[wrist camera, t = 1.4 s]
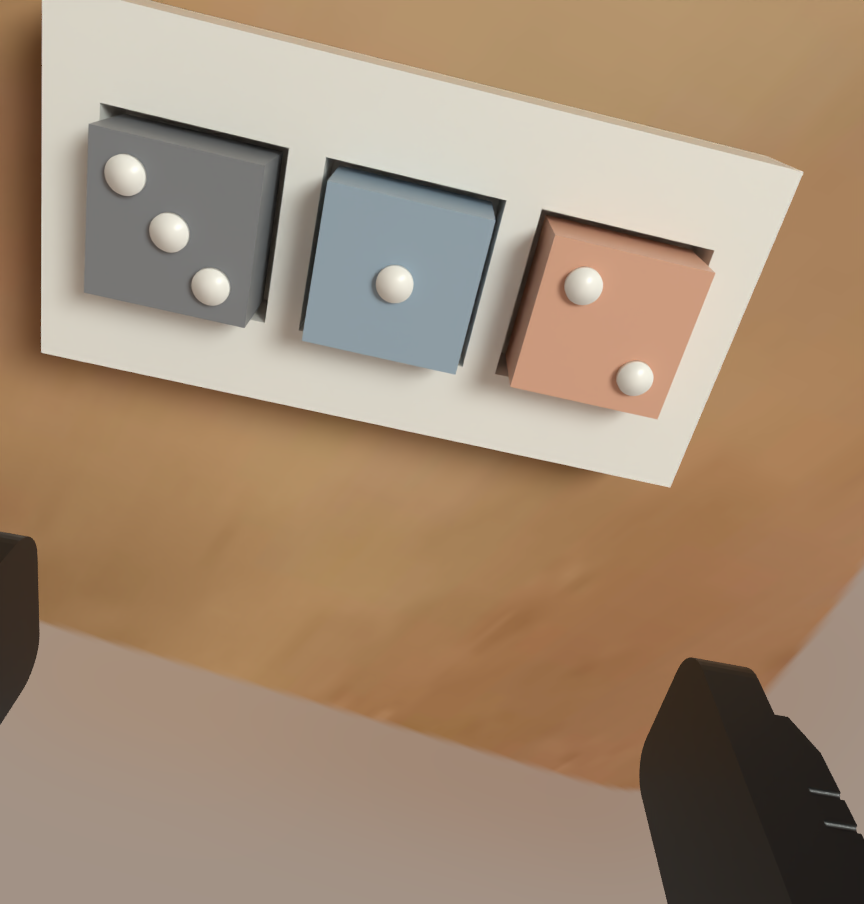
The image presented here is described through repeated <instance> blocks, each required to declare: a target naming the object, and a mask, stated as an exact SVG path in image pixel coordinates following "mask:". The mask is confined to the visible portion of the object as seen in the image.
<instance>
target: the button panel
mask: <svg viewBox="0 0 864 904" xmlns="http://www.w3.org/2000/svg"><path fill="white" fill-rule="evenodd" d="M121 114H128V115H132V116H136V117H141V118H145V119H149V120H153V121H157V122H161V123H166V124H170V125H174V126H178V127H182V128H186V129H191V130H195V131H199V132H203V133H207V134H211V135H216V136H220V137H224V138H228V139H232V140H236V141H241V142H245V143H249V144H253V145H257V146H261V147H266V148H270V149H274V150H278V151H282V152H283V157H282V165H281V172H280V179H279V187H278V194H277V202H276V209H275V217H274V224H273V231H272V239H271V246H270V254H269V261H268V269H267V276H266V284H265V291H264V298H263V302H262V303H261V305H260V306H259V308H258V309H257V311H256V312H255V314H254V315H253V316H252V318H251V319H250V321H249V322H248V324H247V325H246V327H245V328H242V327H237V326H233V325H228V324H224V323H219V322H215V321H210V320H205V319H201V318H196V317H192V316H187V315H183V314H178V313H174V312H169V311H165V310H160V309H156V308H151V307H147V306H142V305H138V304H133V303H129V302H124V301H120V300H115V299H110V298H106V297H101V296H97V295H92V294H88V293H84V269H85V233H86V197H87V161H88V126H89V123H93V122H96V121H100V120H104V119H107V118H111V117H114V116H118V115H121ZM339 165H341V166H345V167H349V168H353V169H357V170H361V171H366V172H370V173H374V174H378V175H382V176H386V177H391V178H395V179H399V180H403V181H407V182H411V183H416V184H420V185H424V186H428V187H432V188H436V189H441V190H445V191H449V192H453V193H457V194H461V195H466V196H470V197H474V198H478V199H482V200H486V201H491V202H492V206H493V211H494V216H495V220H496V221H495V225H494V229H493V232H492V236H491V240H490V244H489V248H488V252H487V255H486V259H485V263H484V267H483V271H482V275H481V279H480V282H479V286H478V290H477V294H476V298H475V302H474V305H473V309H472V313H471V317H470V321H469V325H468V329H467V332H466V336H465V340H464V344H463V348H462V352H461V355H460V359H459V363H458V367H457V371H456V375H454V374H450V373H445V372H441V371H436V370H432V369H427V368H423V367H418V366H414V365H409V364H405V363H400V362H395V361H391V360H386V359H382V358H377V357H373V356H368V355H364V354H359V353H355V352H350V351H346V350H341V349H337V348H332V347H328V346H323V345H319V344H314V343H310V342H305V341H302V336H303V330H304V323H305V317H306V311H307V305H308V299H309V292H310V286H311V280H312V274H313V268H314V261H315V255H316V249H317V243H318V236H319V230H320V224H321V218H322V212H323V205H324V199H325V193H326V187H327V181H328V179H329V178H330V177H331V176H332V174H333V173H334V172H335V171H336V169H337V168H338V167H339ZM802 175H803V171H800V170H798V169H796V168H793V167H791V166H789V165H786V164H784V163H782V162H779V161H777V160H775V159H772V158H770V157H768V156H765V155H761V154H757V153H753V152H749V151H745V150H741V149H737V148H733V147H730V146H726V145H722V144H718V143H714V142H710V141H706V140H702V139H698V138H694V137H690V136H686V135H682V134H678V133H674V132H670V131H666V130H662V129H658V128H654V127H650V126H646V125H642V124H638V123H634V122H630V121H626V120H622V119H618V118H614V117H611V116H607V115H603V114H599V113H595V112H591V111H587V110H583V109H579V108H575V107H571V106H567V105H563V104H559V103H555V102H551V101H547V100H543V99H539V98H535V97H531V96H527V95H523V94H519V93H515V92H511V91H507V90H503V89H499V88H495V87H492V86H488V85H484V84H480V83H476V82H472V81H468V80H464V79H460V78H456V77H452V76H448V75H444V74H440V73H436V72H432V71H428V70H424V69H420V68H416V67H412V66H408V65H404V64H400V63H396V62H392V61H388V60H384V59H380V58H376V57H373V56H369V55H365V54H361V53H357V52H353V51H349V50H345V49H341V48H337V47H333V46H329V45H325V44H321V43H317V42H313V41H309V40H305V39H301V38H297V37H293V36H289V35H285V34H281V33H277V32H273V31H269V30H265V29H261V28H257V27H254V26H250V25H246V24H242V23H238V22H234V21H230V20H226V19H222V18H218V17H214V16H210V15H206V14H202V13H198V12H194V11H190V10H186V9H182V8H178V7H174V6H170V5H166V4H162V3H158V2H154V1H150V0H42V202H41V353H45V354H49V355H54V356H59V357H63V358H68V359H73V360H77V361H82V362H87V363H91V364H96V365H101V366H105V367H110V368H115V369H119V370H124V371H129V372H133V373H138V374H143V375H147V376H152V377H157V378H161V379H166V380H171V381H175V382H180V383H185V384H189V385H194V386H199V387H203V388H208V389H213V390H217V391H222V392H227V393H232V394H236V395H241V396H246V397H250V398H255V399H260V400H264V401H269V402H274V403H278V404H283V405H288V406H292V407H297V408H302V409H306V410H311V411H316V412H320V413H325V414H330V415H334V416H339V417H344V418H348V419H353V420H358V421H362V422H367V423H372V424H376V425H381V426H386V427H390V428H395V429H400V430H404V431H409V432H414V433H418V434H423V435H428V436H432V437H437V438H442V439H446V440H451V441H456V442H460V443H465V444H470V445H474V446H479V447H484V448H488V449H493V450H498V451H502V452H507V453H512V454H516V455H521V456H526V457H530V458H535V459H540V460H544V461H549V462H554V463H558V464H563V465H568V466H572V467H577V468H582V469H587V470H591V471H596V472H601V473H605V474H610V475H615V476H619V477H624V478H629V479H633V480H638V481H643V482H647V483H652V484H657V485H661V486H666V487H671V484H672V482H673V479H674V477H675V475H676V472H677V470H678V468H679V465H680V463H681V461H682V458H683V456H684V453H685V451H686V449H687V446H688V444H689V442H690V439H691V437H692V435H693V432H694V430H695V427H696V425H697V423H698V420H699V418H700V416H701V413H702V411H703V409H704V406H705V404H706V401H707V399H708V397H709V394H710V392H711V390H712V387H713V385H714V383H715V380H716V378H717V375H718V373H719V371H720V368H721V366H722V364H723V361H724V359H725V357H726V354H727V352H728V349H729V347H730V345H731V342H732V340H733V338H734V335H735V333H736V331H737V328H738V326H739V323H740V321H741V319H742V316H743V314H744V312H745V309H746V307H747V305H748V302H749V300H750V297H751V295H752V293H753V290H754V288H755V286H756V283H757V281H758V279H759V276H760V274H761V271H762V269H763V267H764V264H765V262H766V260H767V257H768V255H769V253H770V250H771V248H772V245H773V243H774V241H775V238H776V236H777V234H778V231H779V229H780V227H781V224H782V222H783V219H784V217H785V215H786V212H787V210H788V208H789V205H790V203H791V201H792V198H793V196H794V193H795V191H796V189H797V186H798V184H799V182H800V179H801V177H802ZM545 215H549V216H553V217H557V218H561V219H566V220H570V221H574V222H578V223H582V224H586V225H591V226H595V227H599V228H603V229H607V230H611V231H616V232H620V233H624V234H628V235H632V236H636V237H641V238H645V239H649V240H653V241H657V242H661V243H666V244H670V245H674V246H678V247H682V248H686V249H691V250H692V251H693V252H694V253H695V254H696V255H697V256H698V257H699V258H700V259H701V260H703V261H704V262H705V263H706V264H707V265H708V266H709V267H710V268H711V269H712V270H713V271H714V272H715V276H714V278H713V281H712V283H711V286H710V288H709V291H708V293H707V296H706V298H705V301H704V303H703V306H702V309H701V311H700V314H699V316H698V319H697V321H696V324H695V326H694V329H693V331H692V334H691V336H690V339H689V341H688V344H687V346H686V349H685V351H684V354H683V356H682V359H681V361H680V364H679V367H678V369H677V372H676V374H675V377H674V379H673V382H672V384H671V387H670V389H669V392H668V394H667V397H666V399H665V402H664V404H663V407H662V409H661V412H660V414H659V417H658V419H653V418H649V417H644V416H640V415H635V414H631V413H626V412H622V411H617V410H613V409H608V408H604V407H599V406H595V405H590V404H585V403H581V402H576V401H572V400H567V399H563V398H558V397H554V396H549V395H545V394H540V393H536V392H531V391H527V390H522V389H518V388H513V387H510V382H509V376H508V369H507V363H506V356H505V354H506V351H507V347H508V344H509V341H510V337H511V334H512V330H513V327H514V323H515V320H516V316H517V313H518V309H519V306H520V302H521V299H522V295H523V292H524V288H525V285H526V281H527V278H528V274H529V271H530V267H531V264H532V261H533V257H534V254H535V250H536V247H537V243H538V240H539V236H540V233H541V229H542V226H543V222H544V219H545Z"/></svg>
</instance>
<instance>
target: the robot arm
mask: <svg viewBox="0 0 864 904" xmlns="http://www.w3.org/2000/svg"><path fill="white" fill-rule="evenodd" d="M38 645H39V600H38V560H37V548H36V544H35V541H34V540H33V539H32V538H31V537H27V536H22V535H16V534H10V533H5V532H0V724H1V723H2V721H3V720H4V718H5V716H6V715H7V713H8V712H9V710H10V709H11V707H12V705H13V704H14V703H15V701H16V699H17V698H18V696H19V695H20V693H21V692H22V690H23V688H24V687H25V685H26V683H27V681H28V679H29V676H30V674H31V671H32V668H33V666H34V663H35V659H36V655H37V651H38ZM640 790H641V795H642V799H643V803H644V808H645V812H646V816H647V820H648V824H649V829H650V832H651V837H652V841H653V845H654V849H655V853H656V857H657V862H658V866H659V870H660V874H661V878H662V882H663V886H664V890H665V894H666V899H667V903H668V904H864V839H863V836H862V835H861V834H858V833H857V832H856V827H857V824H856V823H855V821H854V819H853V816H852V814H851V812H850V810H849V808H848V807H847V804H846V803H845V801H844V800H840V791H839V789H838V787H837V785H836V783H835V781H834V779H833V777H832V775H831V773H830V771H829V769H828V767H827V765H826V763H825V761H824V759H823V757H822V755H821V753H820V752H819V751H818V750H817V749H816V747H814V745H813V744H812V743H811V742H810V741H809V740H808V739H807V738H806V736H805V735H804V734H803V733H802V732H801V731H800V730H799V729H798V728H797V726H796V725H795V724H794V723H793V722H792V721H791V720H790V719H789V718H788V717H785V716H779V715H774V712H773V710H772V708H771V706H770V704H769V702H768V700H767V697H766V695H765V693H764V691H763V689H762V686H761V684H760V682H759V680H758V678H757V676H756V674H755V673H754V672H753V671H752V670H751V669H749V668H747V667H742V666H736V665H731V664H725V663H720V662H714V661H708V660H703V659H697V658H687V659H685V660H684V661H683V662H682V664H681V665H680V667H679V668H678V670H677V672H676V675H675V677H674V679H673V681H672V683H671V686H670V688H669V690H668V692H667V694H666V697H665V699H664V701H663V703H662V705H661V707H660V710H659V712H658V714H657V716H656V718H655V721H654V723H653V725H652V727H651V729H650V732H649V734H648V736H647V738H646V741H645V743H644V746H643V750H642V754H641V761H640Z"/></svg>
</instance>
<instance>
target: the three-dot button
mask: <svg viewBox="0 0 864 904" xmlns="http://www.w3.org/2000/svg"><path fill="white" fill-rule="evenodd" d="M282 157H283V152H282V151H278V150H274V149H270V148H266V147H261V146H257V145H253V144H249V143H245V142H241V141H236V140H232V139H228V138H224V137H220V136H216V135H211V134H207V133H203V132H199V131H195V130H191V129H186V128H182V127H178V126H174V125H170V124H166V123H161V122H157V121H153V120H149V119H145V118H141V117H136V116H132V115H128V114H121V115H118V116H114V117H111V118H107V119H104V120H100V121H96V122H93V123H89V126H88V161H87V197H86V233H85V269H84V293H88V294H92V295H97V296H101V297H106V298H110V299H115V300H120V301H124V302H129V303H133V304H138V305H142V306H147V307H151V308H156V309H160V310H165V311H169V312H174V313H178V314H183V315H187V316H192V317H196V318H201V319H205V320H210V321H215V322H219V323H224V324H228V325H233V326H237V327H242V328H245V327H246V325H247V324H248V322H249V321H250V319H251V318H252V316H253V315H254V314H255V312H256V311H257V309H258V308H259V306H260V305H261V303H262V302H263V298H264V291H265V284H266V276H267V269H268V261H269V254H270V246H271V239H272V231H273V224H274V217H275V209H276V202H277V194H278V187H279V179H280V172H281V165H282Z"/></svg>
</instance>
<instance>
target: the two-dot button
mask: <svg viewBox="0 0 864 904" xmlns="http://www.w3.org/2000/svg"><path fill="white" fill-rule="evenodd" d="M714 276H715V272H714V271H713V270H712V269H711V268H710V267H709V266H708V265H707V264H706V263H705V262H704V261H703V260H701V259H700V258H699V257H698V256H697V255H696V254H695V253H694V252H693V251H692V250H691V249H686V248H682V247H678V246H674V245H670V244H666V243H661V242H657V241H653V240H649V239H645V238H641V237H636V236H632V235H628V234H624V233H620V232H616V231H611V230H607V229H603V228H599V227H595V226H591V225H586V224H582V223H578V222H574V221H570V220H566V219H561V218H557V217H553V216H549V215H545V219H544V222H543V226H542V229H541V233H540V236H539V240H538V243H537V247H536V250H535V254H534V257H533V261H532V264H531V267H530V271H529V274H528V278H527V281H526V285H525V288H524V292H523V295H522V299H521V302H520V306H519V309H518V313H517V316H516V320H515V323H514V327H513V330H512V334H511V337H510V341H509V344H508V347H507V351H506V354H505V356H506V363H507V369H508V376H509V382H510V387H513V388H518V389H522V390H527V391H531V392H536V393H540V394H545V395H549V396H554V397H558V398H563V399H567V400H572V401H576V402H581V403H585V404H590V405H595V406H599V407H604V408H608V409H613V410H617V411H622V412H626V413H631V414H635V415H640V416H644V417H649V418H653V419H658V417H659V414H660V412H661V409H662V407H663V404H664V402H665V399H666V397H667V394H668V392H669V389H670V387H671V384H672V382H673V379H674V377H675V374H676V372H677V369H678V367H679V364H680V361H681V359H682V356H683V354H684V351H685V349H686V346H687V344H688V341H689V339H690V336H691V334H692V331H693V329H694V326H695V324H696V321H697V319H698V316H699V314H700V311H701V309H702V306H703V303H704V301H705V298H706V296H707V293H708V291H709V288H710V286H711V283H712V281H713V278H714Z"/></svg>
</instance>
